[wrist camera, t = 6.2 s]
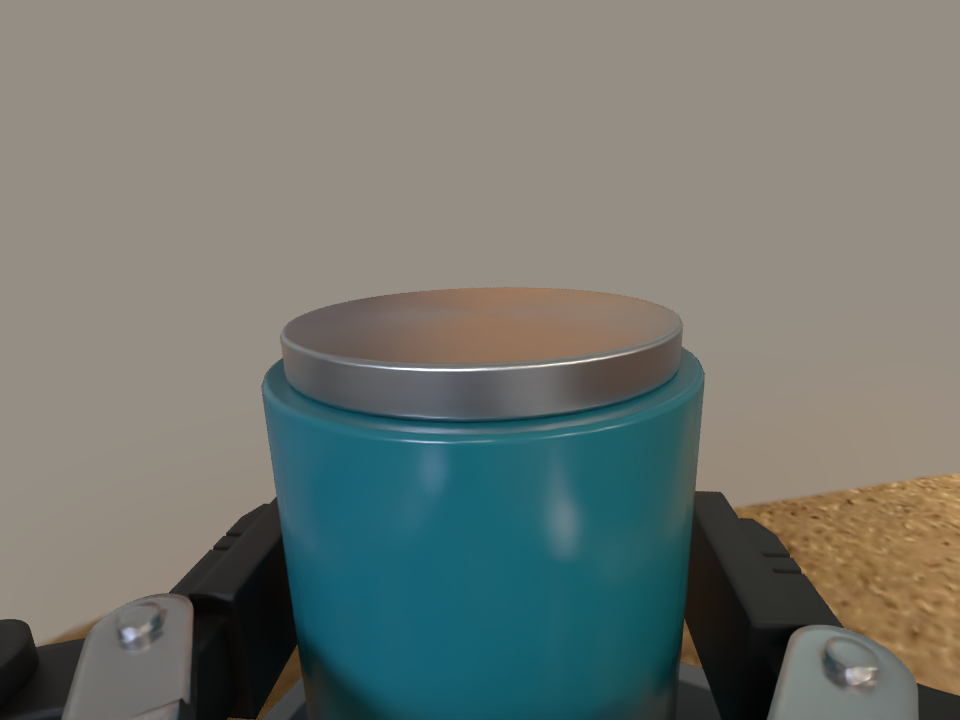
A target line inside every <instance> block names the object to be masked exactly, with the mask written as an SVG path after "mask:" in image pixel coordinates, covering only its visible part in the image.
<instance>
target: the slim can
mask: <svg viewBox="0 0 960 720" xmlns="http://www.w3.org/2000/svg"><path fill="white" fill-rule="evenodd" d="M682 331H683V323H682V321H681V319H680V317H679V315H677V314H676V313H675V312H674V311H671V310H670V309H668V308H666V307H664V306H661V305H658V304H655V303H653V302H649V301H646V300H641V299H638V298H633V297H628V296H622V295H616V294H609V293H600V292H592V291H582V290H569V289H552V288H465V289H447V290H432V291H420V292H409V293H400V294H392V295H384V296H377V297H371V298H365V299H359V300H354V301H348V302H344V303H340V304H335V305H331V306H327V307H324V308H320V309H317V310H314V311H311V312H308V313H306V314H304V315H301V316H300V317H297V318H295V319H294V320H292V321H290V322H288V323H287V325H285V326H284V328H283V330H282V333H281V336H280V339H281V347H282V355H283V358H282V359H281V360H279V361H278V362H276V363H275V364H274V365H273V366H272V367H271V368H270V369H269V371H267V373H266V375H265V377H264V380H263V383H262V396H263V402H264V410H265V417H266V424H267V431H268V438H269V445H270V452H271V459H272V466H273V473H274V480H275V487H276V494H277V501H278V508H279V515H280V522H281V529H282V536H283V544H284V551H285V558H286V565H287V572H288V579H289V586H290V593H291V600H292V607H293V614H294V621H295V628H296V635H297V642H298V649H299V656H300V663H301V670H302V677H303V684H304V691H305V698H306V705H307V713H308V720H675V718H676V707H677V695H678V683H679V672H680V660H681V649H682V637H683V625H684V614H685V602H686V590H687V579H688V567H689V555H690V544H691V532H692V520H693V509H694V497H695V485H696V474H697V462H698V450H699V438H700V427H701V415H702V404H703V392H704V371H703V368H702V366H701V364H700V362H699V360H698V359H697V358H696V357H695V356H694V355H693V354H692V353H691V352H689V351H688V350H686V349H684V348H683V347H681V346H682Z"/></svg>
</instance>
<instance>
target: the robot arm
mask: <svg viewBox="0 0 960 720" xmlns="http://www.w3.org/2000/svg"><path fill="white" fill-rule="evenodd" d="M684 618H685V620H686V623H687V626H688V629H689V632H690V634H691V637H692V640H693V643H694V645H695V648H696V651H697V654H698V656H699V659H700V662H701V665H702V667H703V670H704V673H705V676H706V678H707V681H708V684H709V687H710V689H711V692H712V695H713V698H714V701H715V703H716V706H717V709H718V712H719V714H720V717H721V720H960V696H958V695H954V694H951V693H947V692H943V691H940V690H936V689H933V688H930V687H927V686H924V685H921V684H918V683H916V681H915V679H914V676H913V675H912V673H911V672H910V670H909V669H908V668H907V667H906V665H905V664H904V663H903V662H902V661H901V660H900V659H899V658H898V657H897V656H895V655H894V654H893V653H892V652H890V651H889V650H888V649H886V648H885V647H883V646H882V645H880V644H879V643H877V642H875V641H873V640H871V639H870V638H868V637H866V636H863V635H861V634H859V633H856V632H854V631H850V630H847V629H844V627H843V626H842V625H841V623H840V622H839V621H838V619H837V618H836V616H835V615H834V614H833V612H832V611H831V610H830V608H829V607H828V606H827V604H826V603H825V601H824V600H823V599H822V597H821V596H820V595H819V593H818V592H817V591H816V589H815V588H814V587H813V585H812V584H811V582H810V581H809V580H808V578H807V577H806V576H805V574H802V572H801V569H800V567H799V566H798V565H797V563H796V562H795V561H794V559H793V558H790V554H789V552H788V551H787V550H786V548H785V547H784V546H783V544H782V543H781V542H780V540H779V539H778V538H777V536H776V535H775V534H773V533H772V532H771V531H769V530H768V529H766V528H765V527H763V526H762V525H761V524H759V523H758V522H756V521H755V520H753V519H742V518H738V516H737V515H736V513H735V512H734V510H733V509H732V507H731V506H730V504H729V503H728V501H727V500H726V498H725V497H724V495H723V494H722V493H721V492H704V491H703V492H702V491H701V492H700V491H695V497H694V509H693V520H692V532H691V544H690V555H689V567H688V579H687V590H686V602H685V614H684ZM297 643H298V642H297V635H296V628H295V621H294V614H293V607H292V600H291V593H290V586H289V579H288V572H287V565H286V558H285V551H284V544H283V536H282V529H281V522H280V515H279V508H278V501H277V496H276V498H275V499H274V500H273V501H272V502H271V503H270V504H263V505H261V506H260V507H258V508H256V509H255V510H253V511H251V512H250V513H248V514H246V515H244V516H243V517H241V518H240V519H239V520H238V522H237V523H236V524H234V526H233V527H232V528H231V529H230V530H229V531H228V532H227V533H226V536H223V537H222V538H221V539H220V540H219V541H218V542H217V543H216V544H215V545H214V548H213V550H210V551H209V552H208V553H207V554H206V555H205V556H204V557H203V558H202V559H201V560H200V561H199V562H198V563H197V564H196V565H195V566H194V567H193V568H192V569H191V570H190V572H188V573H187V574H186V575H185V576H184V578H183V579H182V580H181V581H180V582H179V583H178V584H177V585H176V586H175V587H174V588H173V589H172V590H171V591H170V592H169V593H166V594H156V595H151V596H147V597H143V598H140V599H137V600H134V601H132V602H129V603H127V604H125V605H123V606H121V607H119V608H117V609H116V610H114V611H112V612H111V613H109V614H108V615H107V616H105V617H104V618H103V619H101V620H100V621H99V622H98V623H97V624H96V625H95V626H94V627H93V628H92V629H91V631H90V632H89V633H88V635H87V637H86V638H83V639H78V640H73V641H67V642H62V643H56V644H51V645H45V646H40V647H35V644H34V640H33V637H32V633H31V630H30V627H29V626H28V624H27V623H25V622H23V621H21V620H16V619H6V620H0V720H227V718H242V719H256V718H257V716H258V714H259V712H260V710H261V708H262V707H263V705H264V703H265V701H266V699H267V698H268V696H269V694H270V692H271V690H272V689H273V687H274V685H275V683H276V681H277V680H278V678H279V676H280V674H281V672H282V670H283V669H284V667H285V665H286V663H287V661H288V660H289V658H290V656H291V654H292V652H293V651H294V649H295V647H296V645H297Z"/></svg>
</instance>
